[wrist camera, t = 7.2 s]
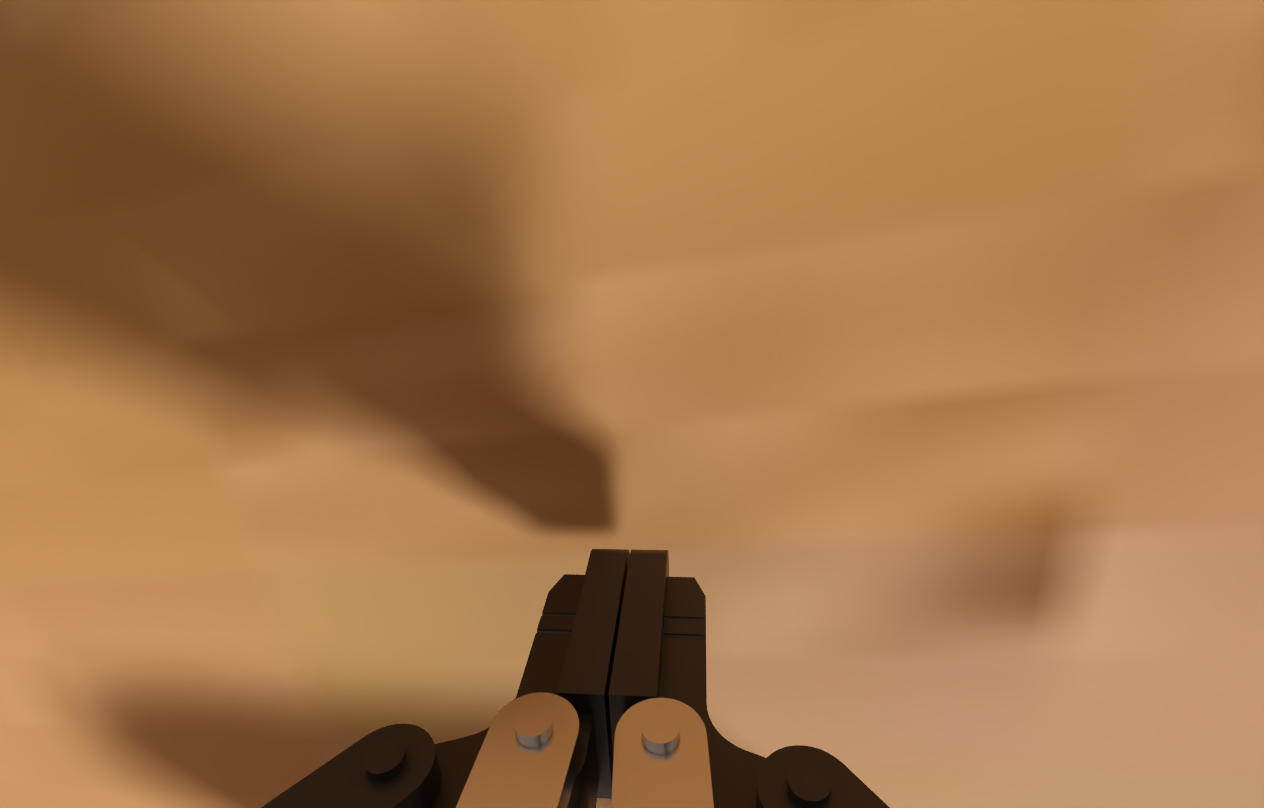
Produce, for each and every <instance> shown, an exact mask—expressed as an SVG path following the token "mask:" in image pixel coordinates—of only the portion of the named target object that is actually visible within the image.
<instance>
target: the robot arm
mask: <svg viewBox="0 0 1264 808" xmlns="http://www.w3.org/2000/svg"><path fill="white" fill-rule="evenodd" d="M597 798H610V799H612V802H611V808H889V807H888V806H887V805H886V804H885V803H884V802H883V801H882V800H881V799H880V798H879V797H878V796H877V795H876V794H875V793H874V792H872V791H871V790H870V789H869V788H868V787H867V786H866V785H865V784H864V783H863V782H862V781H861V780H860V779H859V778H858V777H857V776H856V775H854V774H853V773H852V772H851V771H850V770H849V769H848V768H847V767H846V766H845V765H844V764H843V763H842V762H840V761H839V760H838V759H837V758H835V757H834V756H832V755H831V754H829V753H827V752H825V751H822V750H820V749H817V748H814V747H809V746H789V747H785V748H782V749H779V750H777V751H775V752H773V753H772V754H771V755H770V756H768V757H767V758H765V757H762V756H759V755H756V754H754V753H751V752H748V751H745V750H743V749H741V748H738V747H737V746H735V745H733V744H732V743H730V742H729V741H727V740H726V739H725V738H724V737H722V736H721V734H720V733H719V732H718V731H717V730H716V729H715V727H714V726H713V724H712V722H711V720H710V718H709V715H708V712H707V705H706V609H705V595H704V593H703V591H702V590H701V588H700V586H699V585H698V583H697V581H696V580H695V578H690V577H669V557H668V550H631V553H630V552H629V550H618V549H592V551H591V554H590V558H589V562H588V566H587V570H586V574H585V575H566V574H565V575H564V576H563V577H562V578H561V579H560V580H559V581H558V582H557V583H556V585H555V586H554V587H553V588H552V589H551V590H550V591H549V593H548V596H547V599H546V602H545V606H544V609H543V612H542V616H541V619H540V622H539V625H538V628H537V633H536V635H535V638H534V641H533V645H532V648H531V651H530V654H529V658H528V661H527V664H526V667H525V671H524V674H523V677H522V680H521V683H520V687H519V690H518V693H517V696H516V699H514V700H512V701H511V702H509V703H508V704H507V705H505V706H504V707H503V708H502V709H501V710H500V711H499V712H498V713H497V715H496V716H495V717H494V719H493V721H492V723H491V725H490V727H489V728H487V729H486V730H484V731H482V732H479V733H477V734H474V735H471V736H468V737H464V738H460V739H456V740H451V741H447V742H443V743H439V744H435V745H434V742H433V740H432V738H431V736H430V735H429V734H428V733H427V732H426V731H425V730H424V729H422V728H420V727H418V726H415V725H411V724H395V725H390V726H386V727H383V728H380V729H378V730H376V731H374V732H372V733H370V734H368V735H367V736H365V737H363V738H362V739H360V740H359V741H358V742H356V743H355V744H353V745H352V746H350V747H349V748H347V749H346V750H344V751H343V752H342V753H340V754H339V755H337V756H336V757H334V758H333V759H331V760H330V761H328V762H327V763H326V764H324V765H323V766H321V767H320V768H318V769H317V770H315V771H314V772H312V773H311V774H309V775H308V776H307V777H305V778H304V779H302V780H301V781H299V782H298V783H296V784H295V785H293V786H292V787H291V788H289V789H288V790H286V791H285V792H283V793H282V794H280V795H279V796H277V797H276V798H274V799H273V800H272V801H270V802H269V803H267V804H266V805H264V806H263V807H261V808H595V807H596V800H597Z"/></svg>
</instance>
